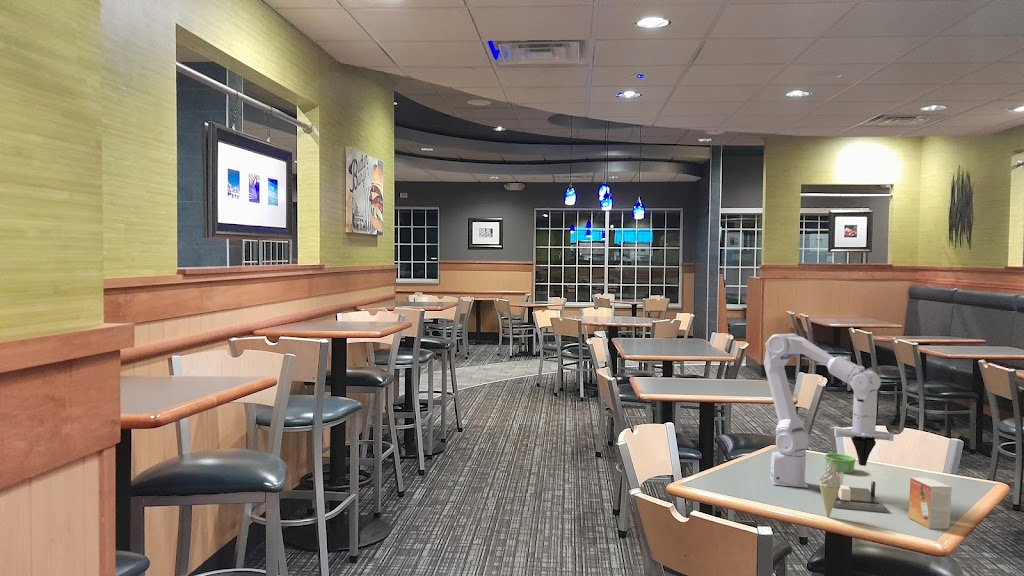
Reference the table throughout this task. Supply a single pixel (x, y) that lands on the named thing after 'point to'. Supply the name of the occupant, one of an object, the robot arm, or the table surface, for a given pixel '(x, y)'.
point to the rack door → (841, 477)
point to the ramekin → (841, 462)
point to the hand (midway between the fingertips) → (862, 464)
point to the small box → (930, 503)
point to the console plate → (861, 500)
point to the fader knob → (844, 493)
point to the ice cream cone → (829, 486)
